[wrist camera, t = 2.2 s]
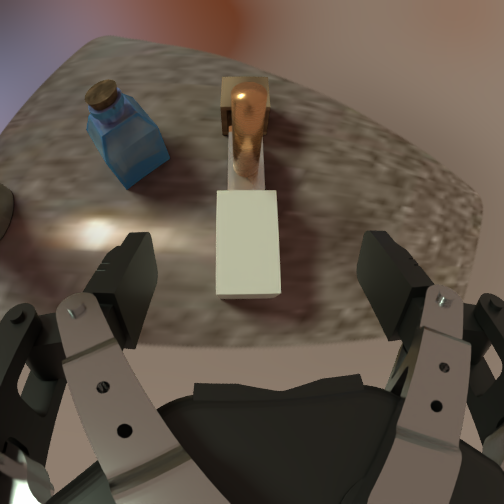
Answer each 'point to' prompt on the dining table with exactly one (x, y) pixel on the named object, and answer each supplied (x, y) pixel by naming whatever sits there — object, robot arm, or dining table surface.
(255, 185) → the grey bar with post
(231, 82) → the socket block
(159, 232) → the dining table surface
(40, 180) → the dining table surface
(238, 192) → the pale white block
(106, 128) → the perfume bottle
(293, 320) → the dining table surface
